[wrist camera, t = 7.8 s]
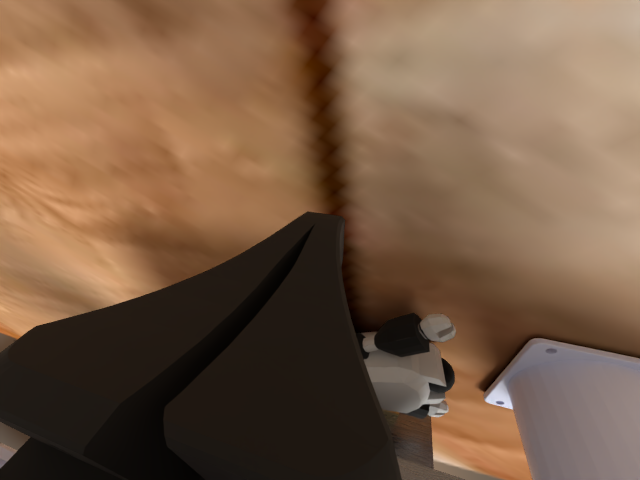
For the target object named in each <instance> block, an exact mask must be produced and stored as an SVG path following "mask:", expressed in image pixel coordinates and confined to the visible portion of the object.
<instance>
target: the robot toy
mask: <svg viewBox="0 0 640 480" xmlns="http://www.w3.org/2000/svg"><path fill="white" fill-rule="evenodd" d="M455 333H456V329H455V326H454V325H453V323H450V319H449V318H448V317H447V316H445V315H443V314H429V315H428V316H426V317H425V318H424V319H423V320H421V319H420V318H419V316H418V315H416V314H415V313H411V314H408V315H404V316H401V317H397V318H394V319H390V320H387V322H386V323H385V324H384V325H383V326H382V327H381V328H380V329H379V331H378V332H367V333H356V337H357V340H358V343H359V347H360V350H361V353H362V356H363V359H364V362H365V365H366V368H367V371H368V373H369V376H370V379H371V382H372V385H373V387H374V390H375V392H376V395H377V398H378V400H379V403H380V406H381V408H382V409H383V410H388V411H394V412H400V413H403V414H406V415H409V416H413V417H416V418H419V419H424V418H425V417H426V416H427V415H429V416H433V417H440V416H442V415H444V413H447V412H448V405H447V403H446V401H444V399H446V398H445V393H444V392H446V391H448V390H449V389H451V387H452V386H453V384H454V382H455V375H454V371H453V369H452V367H451V365H450V364H449V363H448V362H447V361H446V360H444V359H443V358H441V354H440V351H439V350H438V348H437V347H436V346H435V345H434V344H431V343H429V340H432V341H438V342H445V341H447V340H449V339H452V338H454V336H455Z"/></svg>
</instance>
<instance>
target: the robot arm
mask: <svg viewBox="0 0 640 480" xmlns="http://www.w3.org/2000/svg"><path fill="white" fill-rule="evenodd" d="M344 227H345V220H344V218H343V217H342V216H335V215H328V214H321V213H314V212H306V213H304V214H303V215H301V216H300V217H298V218H297V219H295V220H294V221H292V222H291V223H289V224H288V225H287V226H285V227H284V228H282V229H281V230H279V231H277V232H276V233H274V234H273V235H271V236H270V237H268V238H267V239H265V240H263V241H262V242H260V243H258V244H257V245H255V246H253V247H252V248H250V249H248V250H247V251H245V252H243V253H241V254H240V255H238V256H236V257H234V258H232V259H230V260H228V261H226V262H224V263H222V264H220V265H218V266H216V267H214V268H212V269H210V270H208V271H205V272H203V273H201V274H198V275H196V276H193V277H191V278H189V279H186V280H184V281H181V282H179V283H176V284H174V285H171V286H169V287H166V288H163V289H161V290H158V291H155V292H152V293H149V294H146V295H144V296H141V297H138V298H135V299H131V300H128V301H125V302H122V303H119V304H116V305H112V306H109V307H106V308H102V309H99V310H95V311H91V312H88V313H84V314H80V315H77V316H73V317H69V318H66V319H62V320H58V321H54V322H51V323H47V324H43V325H39V326H36V327H34V328H33V329H31V330H30V331H28V332H27V333H26V334H24V335H23V336H22V337H20V338H19V339H18V340H16V341H15V342H14V343H13V344H11V345H10V346H9V347H7V348H6V349H5V350H3V351H2V352H1V353H0V422H2V423H4V424H6V425H8V426H10V427H12V428H14V429H16V430H18V431H20V432H22V433H24V434H26V435H28V436H30V439H28V441H27V442H26V443H25V444H24V445H23V446H22V447H21V448H20V449H19V450H18V451H16V450H14V449H12V448H10V447H8V446H6V445H4V444H2V443H0V480H402V478H401V473H400V469H399V465H398V460H397V456H396V452H395V447H394V442H393V437H392V433H391V430H390V428H389V425H388V423H387V420H386V418H385V416H384V413H383V411H382V408H381V406H380V403H379V400H378V398H377V395H376V392H375V390H374V387H373V385H372V382H371V379H370V376H369V373H368V371H367V368H366V365H365V362H364V359H363V356H362V353H361V350H360V347H359V343H358V340H357V337H356V333H355V330H354V327H353V323H352V320H351V316H350V312H349V308H348V304H347V299H346V294H345V290H344V284H343V278H342V270H341V266H342V261H343V245H344ZM483 396H484V400H485V401H486V402H488V403H491V404H494V405H498V406H502V407H506V408H509V409H513V410H514V414H515V418H516V421H517V425H518V429H519V432H520V436H521V439H522V443H523V447H524V450H525V454H526V458H527V461H528V465H529V469H530V472H531V476H532V479H533V480H640V358H635V357H630V356H625V355H621V354H616V353H611V352H606V351H601V350H596V349H592V348H587V347H582V346H577V345H572V344H567V343H562V342H558V341H553V340H548V339H543V338H534V339H531V340H530V341H528V343H527V344H526V345H525V346H524V347H523V349H522V350H521V351H520V352H519V353H518V354H517V356H516V357H515V358H514V359H513V360H512V361H511V363H510V364H509V365H508V366H507V367H506V368H505V370H504V371H503V372H502V373H501V374H500V375H499V377H498V378H497V379H496V380H495V381H494V382H493V384H492V385H491V386H490V387H489V388H488V389H487V391H486V392H485V393H484V395H483Z"/></svg>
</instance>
